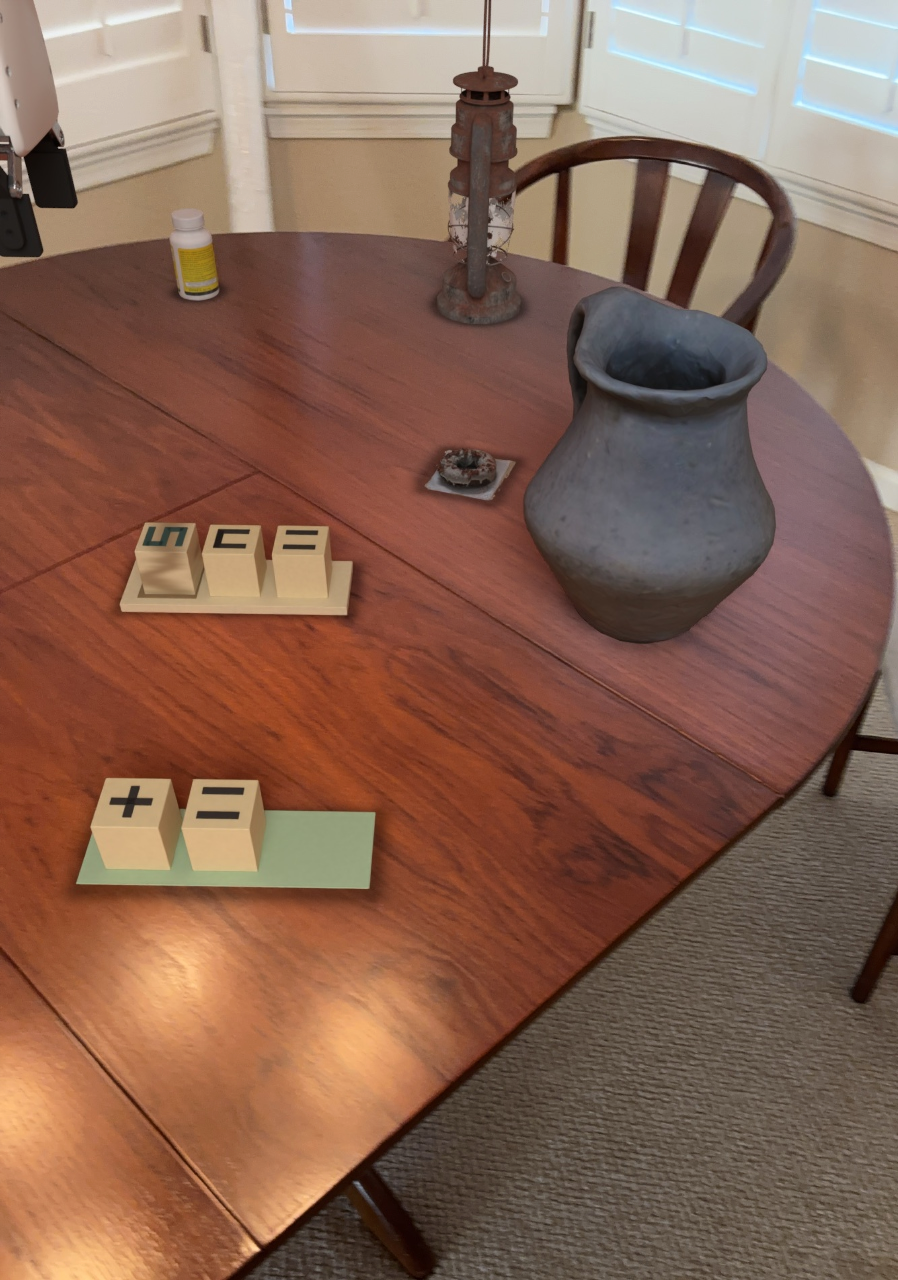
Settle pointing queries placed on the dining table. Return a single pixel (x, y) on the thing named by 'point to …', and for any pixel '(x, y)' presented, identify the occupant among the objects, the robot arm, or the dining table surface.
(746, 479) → the pitcher
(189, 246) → the supplement bottle
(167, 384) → the dining table surface
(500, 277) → the lantern
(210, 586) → the mat
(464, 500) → the dining table surface
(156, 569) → the cream block
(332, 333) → the dining table surface
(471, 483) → the donut
